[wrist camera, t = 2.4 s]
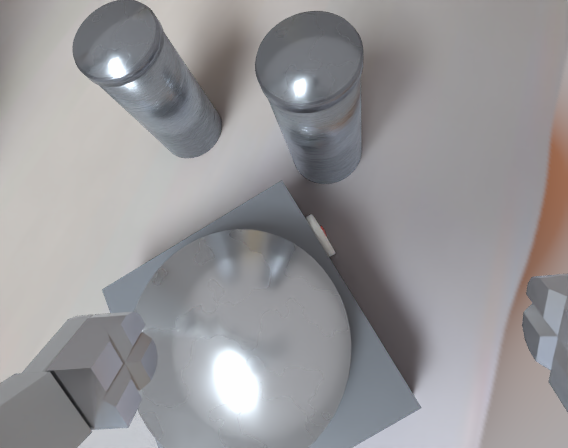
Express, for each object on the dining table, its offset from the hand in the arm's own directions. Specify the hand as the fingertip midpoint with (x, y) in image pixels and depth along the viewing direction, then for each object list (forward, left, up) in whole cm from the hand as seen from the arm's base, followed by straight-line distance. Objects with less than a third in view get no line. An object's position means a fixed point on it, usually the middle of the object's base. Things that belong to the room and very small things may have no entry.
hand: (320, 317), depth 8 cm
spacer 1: (-17, -2, -14) cm, 22 cm away
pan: (-2, -5, -10) cm, 11 cm away
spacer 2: (-10, +5, -14) cm, 17 cm away
